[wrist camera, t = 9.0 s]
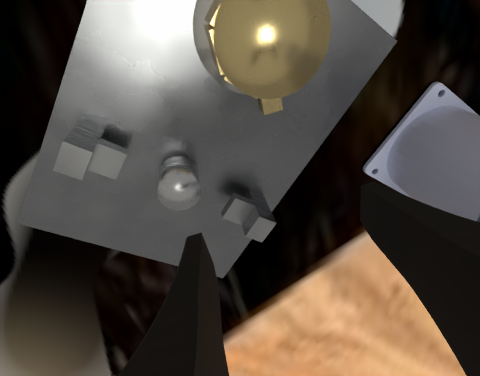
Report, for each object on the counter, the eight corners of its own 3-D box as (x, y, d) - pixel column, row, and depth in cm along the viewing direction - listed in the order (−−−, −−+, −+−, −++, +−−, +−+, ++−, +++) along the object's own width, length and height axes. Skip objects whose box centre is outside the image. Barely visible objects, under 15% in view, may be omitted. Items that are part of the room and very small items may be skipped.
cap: (311, 96, 19) (335, 114, 16) (228, 120, 19) (238, 142, 16) (293, -88, 14) (324, -110, 11) (181, -57, 14) (184, -72, 11)
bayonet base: (387, 39, 19) (436, 48, 16) (221, 269, 28) (228, 310, 24) (146, -170, 13) (136, -234, 9) (23, 214, 21) (-8, 258, 18)
